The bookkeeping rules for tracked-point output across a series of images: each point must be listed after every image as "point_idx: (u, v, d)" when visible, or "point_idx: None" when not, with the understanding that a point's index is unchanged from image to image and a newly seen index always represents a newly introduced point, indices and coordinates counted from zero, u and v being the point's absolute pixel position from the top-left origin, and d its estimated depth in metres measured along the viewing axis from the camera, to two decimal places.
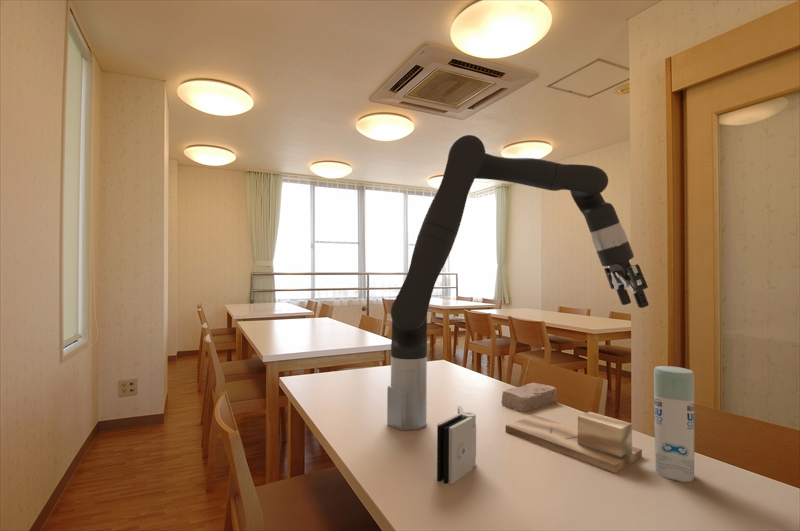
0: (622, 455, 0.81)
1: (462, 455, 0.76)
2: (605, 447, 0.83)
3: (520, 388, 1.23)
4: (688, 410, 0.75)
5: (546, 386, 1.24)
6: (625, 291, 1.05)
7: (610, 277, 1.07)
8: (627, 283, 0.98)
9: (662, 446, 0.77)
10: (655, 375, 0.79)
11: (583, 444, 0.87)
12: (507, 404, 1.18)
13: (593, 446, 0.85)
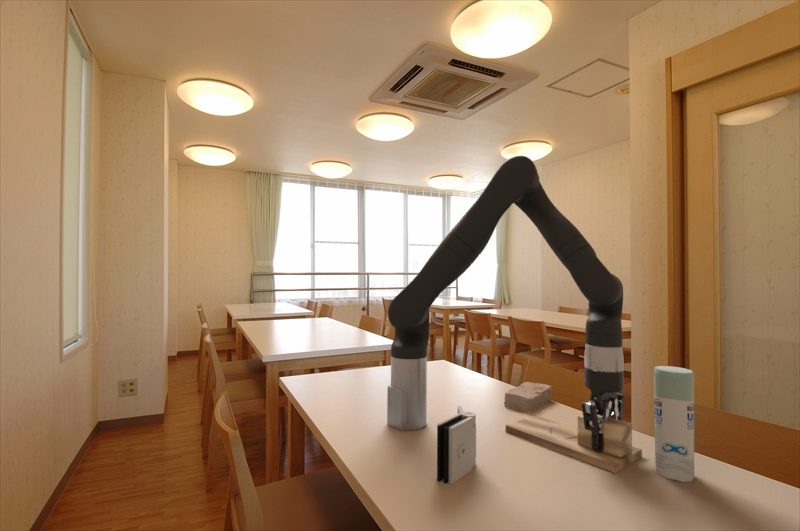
0: (622, 455, 0.81)
1: (462, 455, 0.76)
2: (605, 447, 0.83)
3: (518, 388, 1.23)
4: (688, 410, 0.75)
5: (541, 385, 1.26)
6: None
7: None
8: None
9: (662, 446, 0.77)
10: (655, 375, 0.79)
11: (583, 444, 0.87)
12: (511, 406, 1.17)
13: None
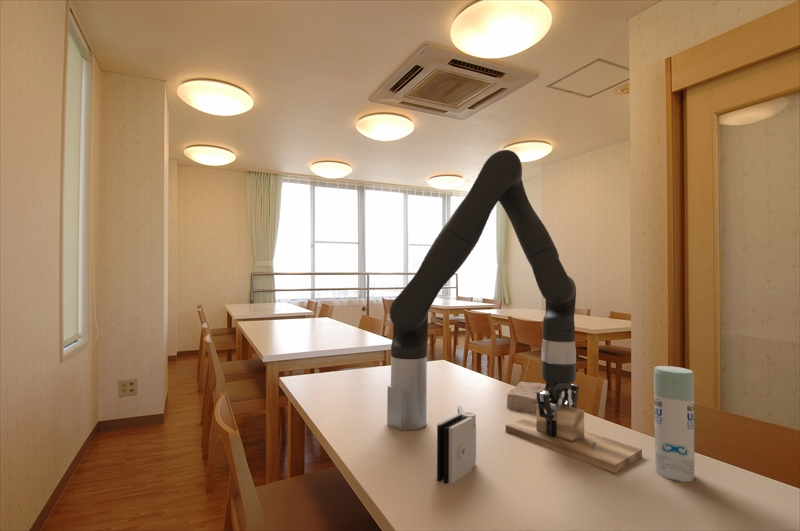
0: (574, 439, 0.89)
1: (462, 455, 0.76)
2: (559, 432, 0.91)
3: (518, 389, 1.23)
4: (688, 410, 0.75)
5: (537, 384, 1.27)
6: None
7: None
8: None
9: (662, 446, 0.77)
10: (655, 375, 0.79)
11: (541, 430, 0.95)
12: (514, 407, 1.16)
13: None
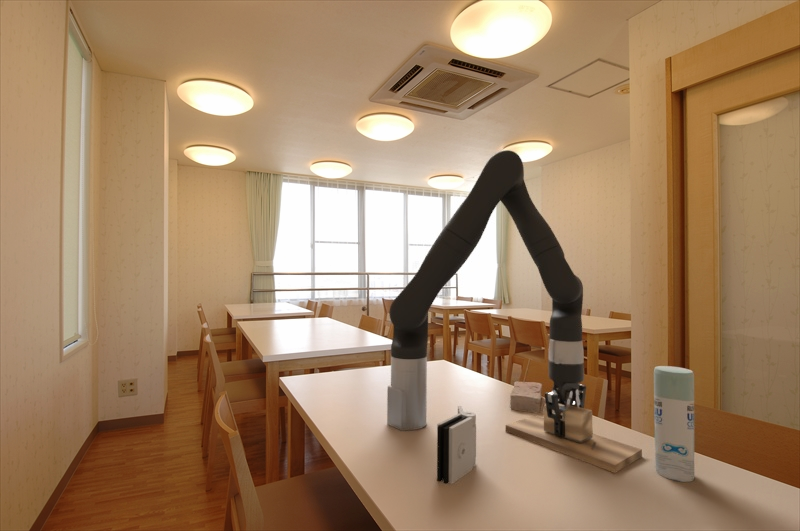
0: (582, 439, 0.88)
1: (462, 455, 0.76)
2: (567, 433, 0.90)
3: (517, 389, 1.22)
4: (688, 410, 0.75)
5: (532, 383, 1.28)
6: None
7: None
8: None
9: (662, 446, 0.77)
10: (655, 375, 0.79)
11: (549, 431, 0.94)
12: (519, 408, 1.15)
13: None
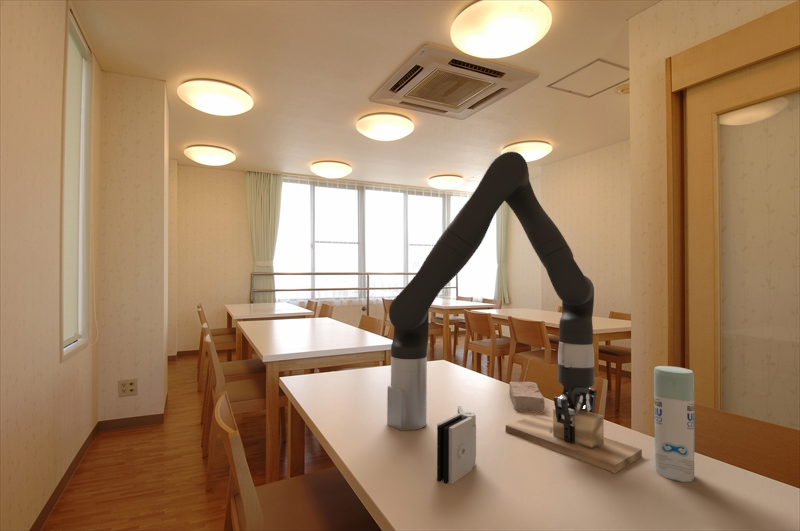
0: (593, 445, 0.86)
1: (462, 455, 0.76)
2: (578, 438, 0.88)
3: (517, 389, 1.22)
4: (688, 410, 0.75)
5: (527, 383, 1.28)
6: None
7: None
8: None
9: (662, 446, 0.77)
10: (655, 375, 0.79)
11: (558, 436, 0.91)
12: (523, 408, 1.14)
13: None
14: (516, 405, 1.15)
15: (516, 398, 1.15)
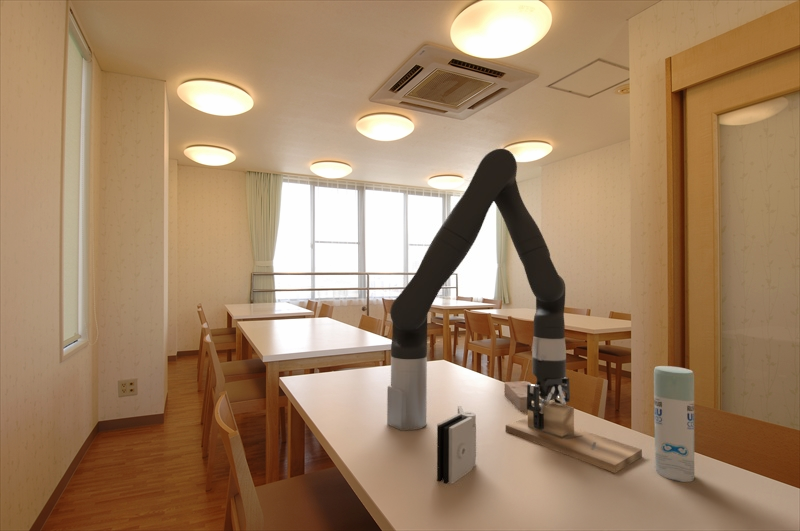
0: (563, 435, 0.91)
1: (462, 455, 0.76)
2: (549, 428, 0.93)
3: (517, 390, 1.21)
4: (688, 410, 0.75)
5: (522, 382, 1.29)
6: None
7: None
8: None
9: (662, 446, 0.77)
10: (655, 375, 0.79)
11: (532, 426, 0.97)
12: None
13: None
14: (521, 406, 1.14)
15: (521, 399, 1.14)
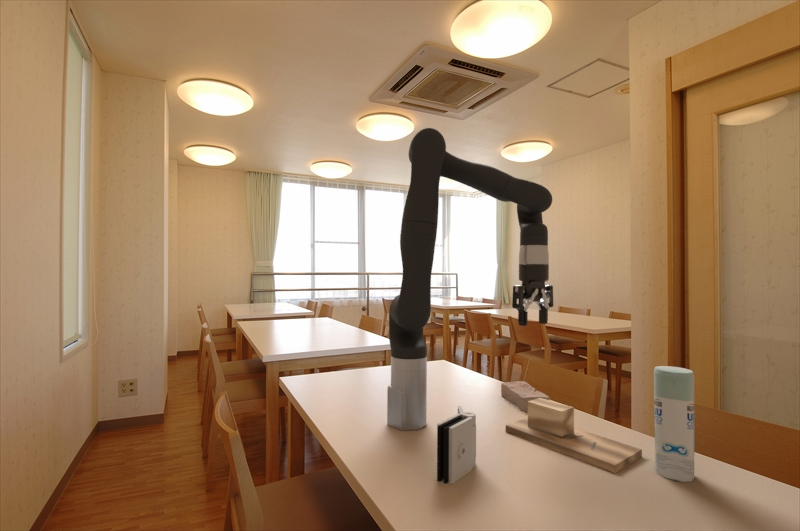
0: (563, 435, 0.91)
1: (462, 455, 0.76)
2: (549, 428, 0.93)
3: (517, 390, 1.21)
4: (688, 410, 0.75)
5: (518, 382, 1.29)
6: (544, 311, 1.09)
7: None
8: None
9: (662, 446, 0.77)
10: (655, 375, 0.79)
11: (532, 426, 0.97)
12: None
13: (540, 428, 0.95)
14: (525, 407, 1.13)
15: (525, 400, 1.14)
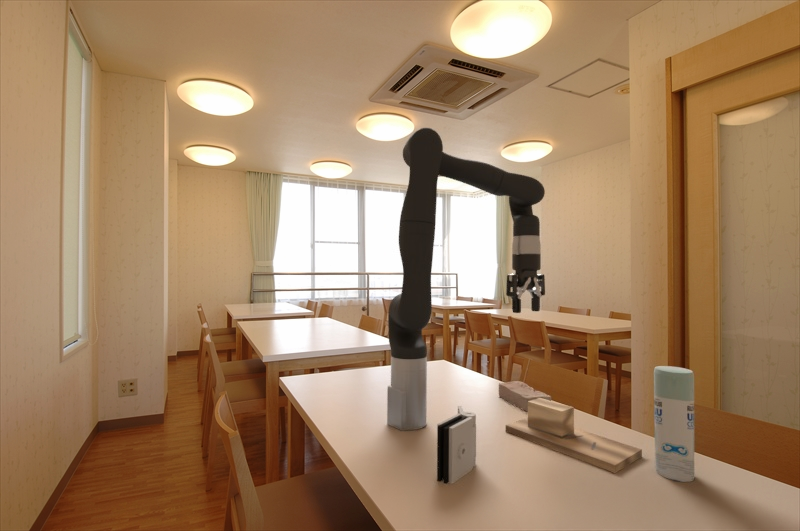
0: (563, 435, 0.91)
1: (462, 455, 0.76)
2: (549, 428, 0.93)
3: (517, 391, 1.20)
4: (688, 410, 0.75)
5: (515, 382, 1.29)
6: (536, 299, 1.13)
7: None
8: (513, 288, 1.10)
9: (662, 446, 0.77)
10: (655, 375, 0.79)
11: (532, 426, 0.97)
12: None
13: (540, 428, 0.95)
14: None
15: (528, 400, 1.13)
